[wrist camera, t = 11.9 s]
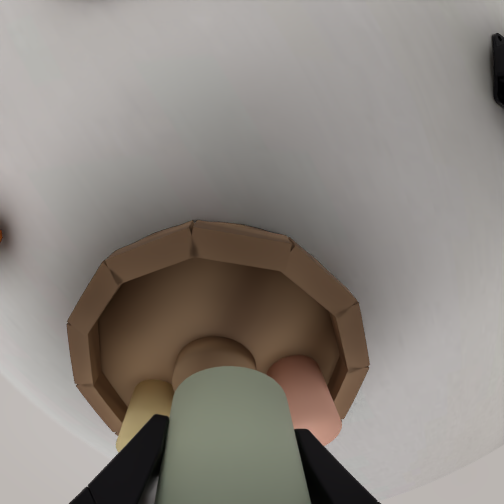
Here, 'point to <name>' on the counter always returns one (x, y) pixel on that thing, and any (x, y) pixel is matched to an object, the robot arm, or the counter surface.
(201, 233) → the groove tray
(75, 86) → the counter surface
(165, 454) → the bead sage
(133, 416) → the bead mustard
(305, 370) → the bead coral
